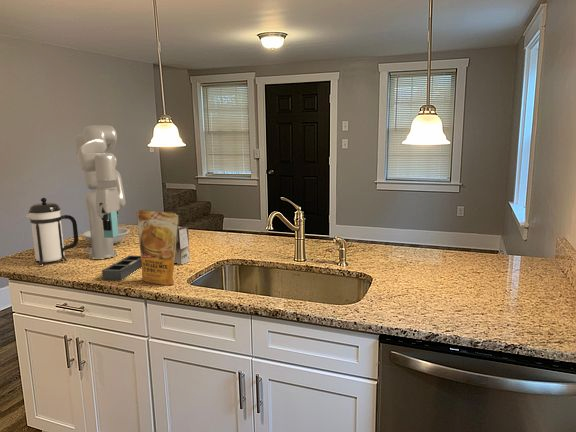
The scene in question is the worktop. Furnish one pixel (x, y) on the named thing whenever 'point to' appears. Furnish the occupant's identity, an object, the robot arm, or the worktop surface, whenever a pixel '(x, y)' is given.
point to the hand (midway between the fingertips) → (110, 228)
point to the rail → (122, 268)
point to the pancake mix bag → (157, 245)
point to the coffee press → (49, 232)
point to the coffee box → (182, 246)
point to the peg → (112, 226)
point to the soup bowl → (122, 234)
